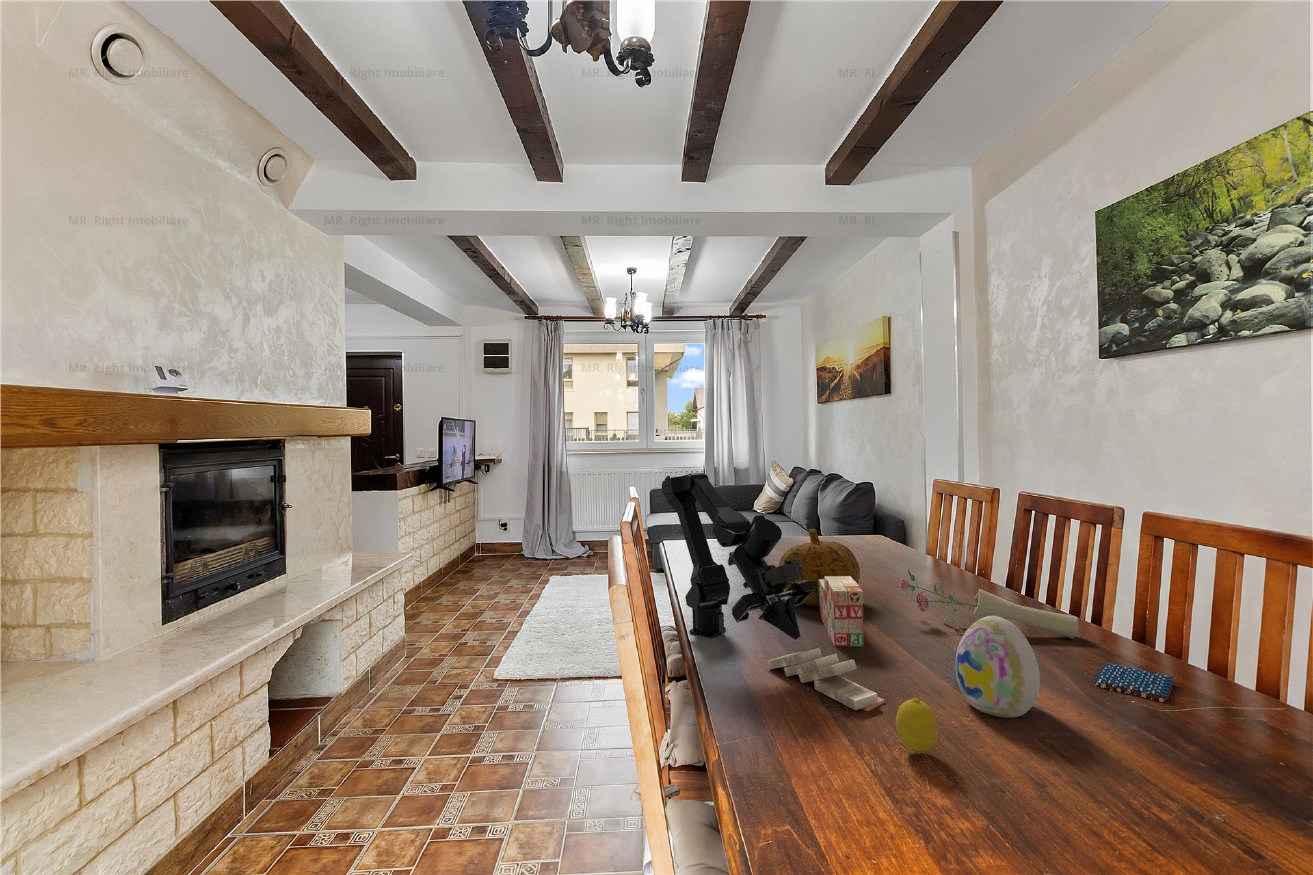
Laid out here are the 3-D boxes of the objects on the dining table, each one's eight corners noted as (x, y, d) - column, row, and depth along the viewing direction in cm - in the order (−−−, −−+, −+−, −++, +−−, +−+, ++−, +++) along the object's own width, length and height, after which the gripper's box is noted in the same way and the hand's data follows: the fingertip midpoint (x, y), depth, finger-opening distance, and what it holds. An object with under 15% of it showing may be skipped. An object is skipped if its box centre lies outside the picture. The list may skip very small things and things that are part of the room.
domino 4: (814, 679, 109) (855, 700, 100) (835, 673, 111) (877, 693, 102) (814, 688, 109) (855, 710, 100) (835, 682, 111) (877, 702, 102)
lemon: (935, 746, 89) (934, 692, 89) (940, 766, 84) (938, 709, 84) (895, 741, 91) (894, 688, 91) (897, 760, 86) (895, 704, 85)
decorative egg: (939, 699, 104) (937, 612, 104) (989, 685, 109) (987, 602, 108) (1005, 731, 93) (1003, 633, 92) (1058, 713, 97) (1056, 621, 97)
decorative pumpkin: (874, 607, 152) (864, 528, 153) (791, 617, 153) (782, 538, 153) (850, 589, 173) (841, 519, 173) (777, 598, 173) (768, 528, 174)
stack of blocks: (819, 615, 151) (817, 566, 151) (845, 615, 150) (843, 566, 150) (834, 647, 130) (832, 589, 130) (864, 647, 129) (863, 589, 129)
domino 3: (798, 674, 112) (833, 665, 104) (818, 668, 115) (853, 659, 107) (801, 683, 112) (836, 675, 104) (821, 676, 114) (857, 668, 106)
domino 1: (767, 660, 119) (800, 653, 112) (785, 655, 122) (819, 647, 114) (769, 669, 119) (803, 662, 111) (788, 663, 121) (822, 656, 114)
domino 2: (783, 667, 116) (815, 659, 108) (803, 661, 118) (836, 653, 110) (786, 676, 115) (819, 669, 107) (806, 670, 117) (839, 662, 109)
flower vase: (1066, 677, 128) (892, 626, 140) (1056, 642, 139) (895, 597, 151) (1084, 632, 124) (903, 584, 136) (1072, 599, 134) (905, 557, 146)
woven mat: (1102, 670, 115) (1101, 660, 114) (1175, 686, 107) (1175, 675, 107) (1089, 688, 107) (1089, 677, 107) (1167, 707, 100) (1167, 695, 100)
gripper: (740, 553, 114) (785, 626, 105) (806, 540, 125) (853, 605, 116) (714, 586, 121) (754, 658, 112) (779, 571, 132) (821, 635, 123)
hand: (798, 638), depth 116 cm, fingers closed
